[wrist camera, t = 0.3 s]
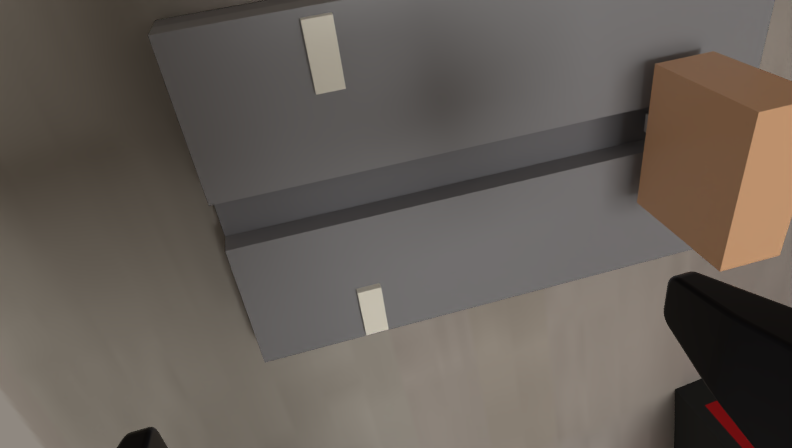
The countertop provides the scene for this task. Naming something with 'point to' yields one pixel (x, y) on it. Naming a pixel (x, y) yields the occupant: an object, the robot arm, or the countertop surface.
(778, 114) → the tan rectangular block
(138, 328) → the countertop surface
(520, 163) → the console
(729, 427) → the cleaning product box
